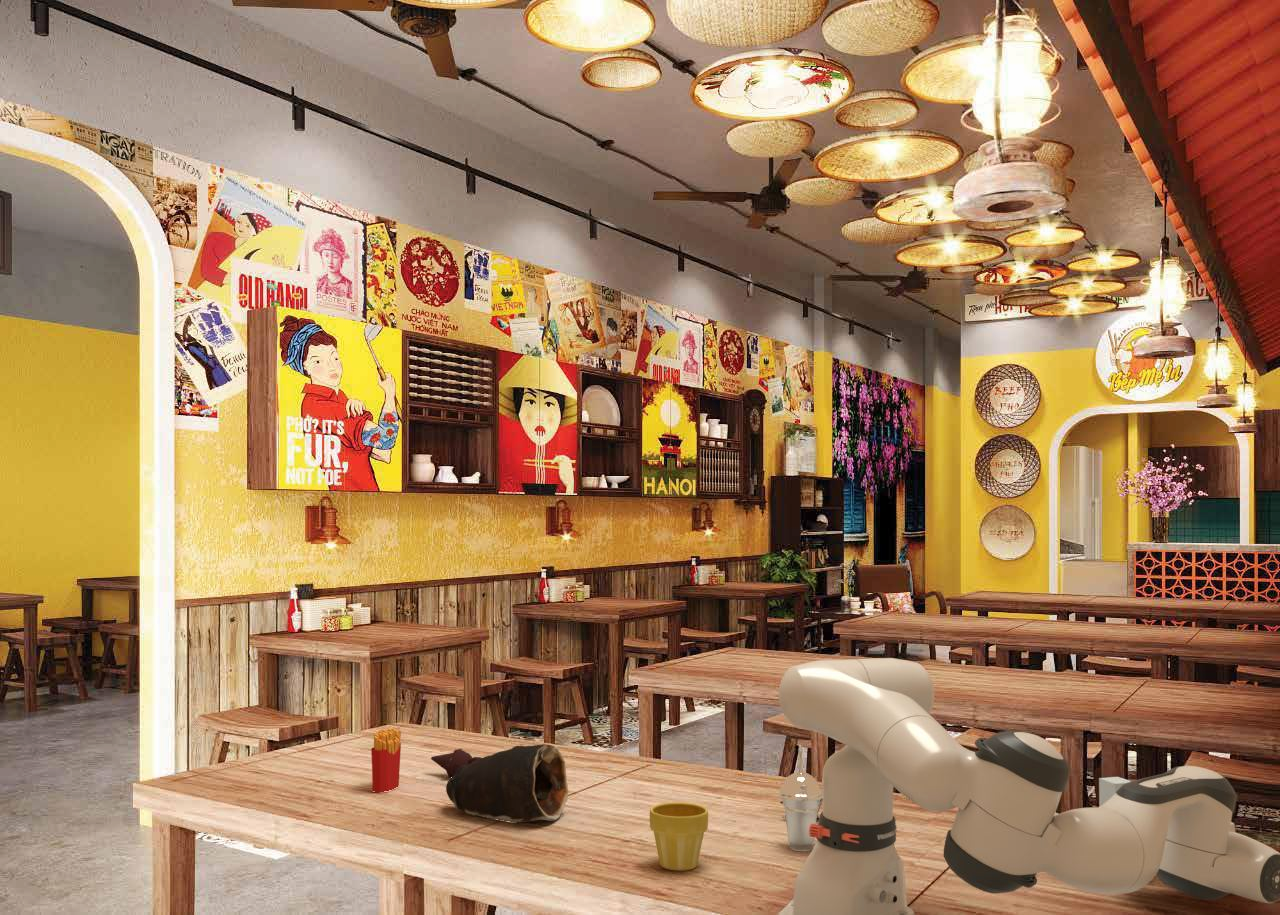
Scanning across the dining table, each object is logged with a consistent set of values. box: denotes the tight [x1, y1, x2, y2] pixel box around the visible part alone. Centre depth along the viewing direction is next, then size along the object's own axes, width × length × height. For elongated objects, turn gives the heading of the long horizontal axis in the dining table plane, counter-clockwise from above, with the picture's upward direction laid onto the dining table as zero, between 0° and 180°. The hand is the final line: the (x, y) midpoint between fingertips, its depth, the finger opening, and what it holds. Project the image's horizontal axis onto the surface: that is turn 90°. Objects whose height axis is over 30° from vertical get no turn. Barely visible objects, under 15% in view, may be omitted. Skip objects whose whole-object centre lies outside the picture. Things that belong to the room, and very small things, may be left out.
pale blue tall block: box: [1098, 776, 1132, 807], centre depth 186 cm, size 4×4×16 cm
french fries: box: [370, 727, 402, 793], centre depth 240 cm, size 9×4×13 cm, turn 160°
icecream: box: [430, 748, 482, 779], centre depth 250 cm, size 7×7×15 cm
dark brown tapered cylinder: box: [445, 743, 569, 823], centre depth 220 cm, size 15×15×25 cm
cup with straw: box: [777, 743, 822, 853], centre depth 199 cm, size 8×9×20 cm
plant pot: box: [649, 801, 709, 872], centre depth 189 cm, size 10×10×10 cm
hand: (1129, 822), depth 184 cm, fingers open, 8 cm apart
